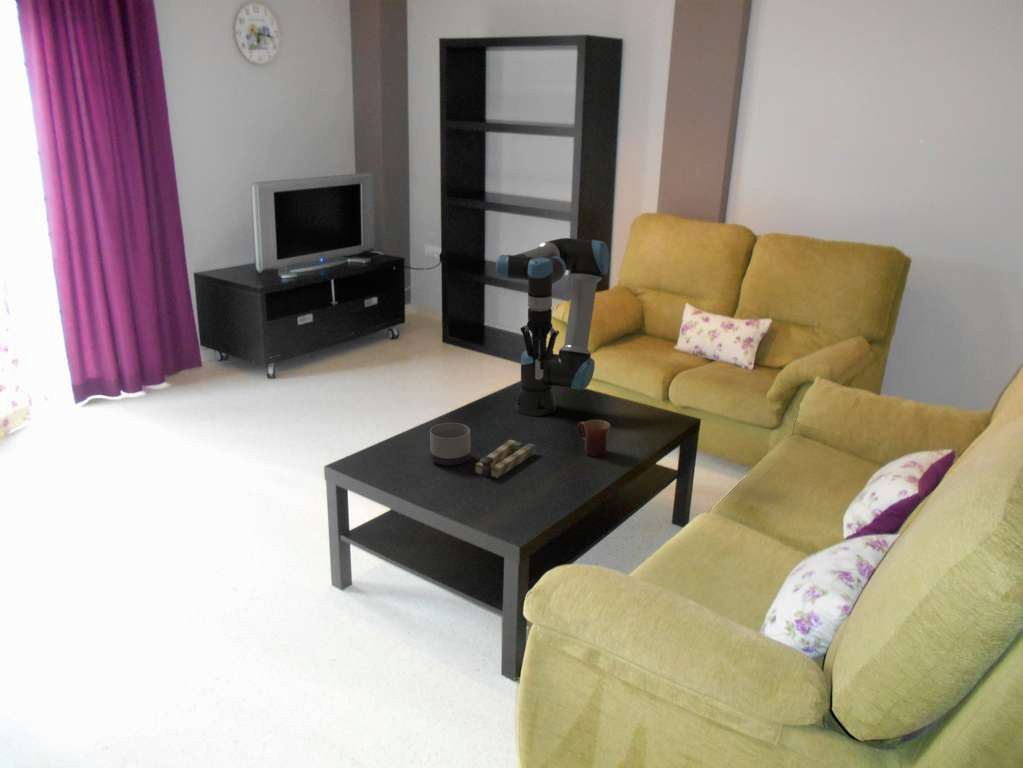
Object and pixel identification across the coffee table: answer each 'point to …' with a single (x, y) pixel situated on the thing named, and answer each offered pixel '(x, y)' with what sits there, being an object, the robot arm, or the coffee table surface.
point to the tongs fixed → (496, 457)
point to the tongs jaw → (512, 460)
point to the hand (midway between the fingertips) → (539, 377)
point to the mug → (595, 436)
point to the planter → (450, 443)
